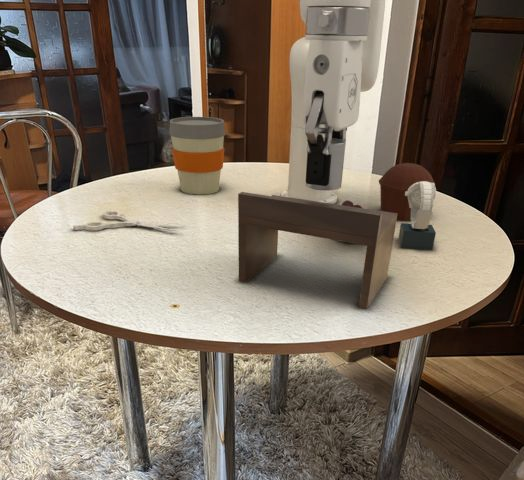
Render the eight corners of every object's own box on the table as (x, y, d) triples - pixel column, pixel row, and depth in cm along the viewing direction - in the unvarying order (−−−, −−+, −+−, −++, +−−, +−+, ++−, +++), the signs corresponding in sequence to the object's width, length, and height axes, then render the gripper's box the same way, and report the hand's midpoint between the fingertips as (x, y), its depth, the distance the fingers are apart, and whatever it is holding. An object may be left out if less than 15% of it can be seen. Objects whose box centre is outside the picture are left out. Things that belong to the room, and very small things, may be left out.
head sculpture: (426, 237, 96) (438, 177, 90) (434, 253, 89) (447, 189, 83) (396, 236, 96) (406, 176, 90) (401, 251, 90) (412, 187, 84)
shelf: (270, 255, 87) (273, 175, 80) (387, 277, 80) (401, 192, 73) (238, 281, 78) (238, 193, 71) (366, 309, 71) (380, 215, 64)
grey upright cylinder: (312, 179, 75) (316, 136, 72) (345, 184, 73) (350, 139, 70) (300, 187, 71) (303, 141, 68) (334, 192, 69) (339, 145, 66)
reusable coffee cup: (162, 189, 120) (156, 120, 112) (200, 179, 129) (198, 114, 121) (199, 199, 114) (195, 127, 106) (237, 189, 122) (237, 121, 114)
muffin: (381, 203, 114) (388, 156, 109) (432, 210, 111) (441, 162, 105) (369, 218, 105) (375, 167, 100) (423, 226, 101) (433, 174, 96)
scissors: (100, 209, 103) (193, 217, 100) (100, 213, 104) (193, 221, 100) (72, 226, 95) (173, 235, 91) (73, 230, 95) (174, 239, 91)
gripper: (345, 25, 54) (330, 198, 64) (384, 28, 67) (366, 171, 77) (280, 24, 57) (275, 190, 66) (330, 27, 70) (319, 165, 79)
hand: (324, 178), depth 71 cm, fingers closed on grey upright cylinder, 5 cm apart
